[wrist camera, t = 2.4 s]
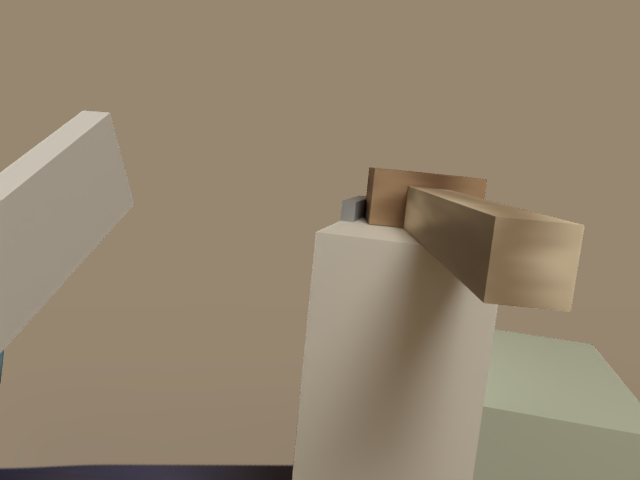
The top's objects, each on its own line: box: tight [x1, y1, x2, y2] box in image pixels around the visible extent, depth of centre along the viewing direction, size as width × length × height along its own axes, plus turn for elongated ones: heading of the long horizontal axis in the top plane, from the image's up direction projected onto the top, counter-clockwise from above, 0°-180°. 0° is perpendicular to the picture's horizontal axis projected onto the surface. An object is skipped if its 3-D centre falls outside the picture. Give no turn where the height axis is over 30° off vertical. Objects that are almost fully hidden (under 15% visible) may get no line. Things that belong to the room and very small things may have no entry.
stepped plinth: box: [292, 196, 640, 480], centre depth 43 cm, size 21×18×30 cm
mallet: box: [364, 168, 584, 312], centre depth 33 cm, size 8×28×4 cm, turn 179°
